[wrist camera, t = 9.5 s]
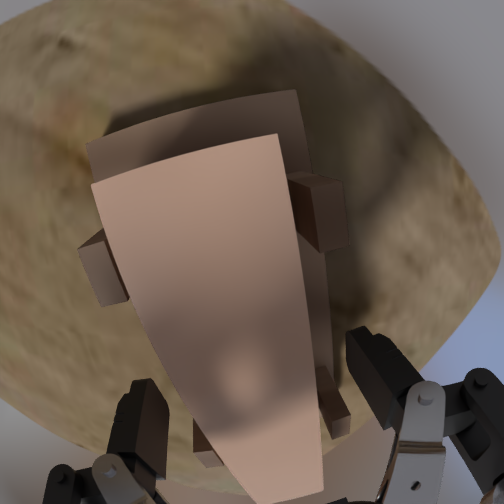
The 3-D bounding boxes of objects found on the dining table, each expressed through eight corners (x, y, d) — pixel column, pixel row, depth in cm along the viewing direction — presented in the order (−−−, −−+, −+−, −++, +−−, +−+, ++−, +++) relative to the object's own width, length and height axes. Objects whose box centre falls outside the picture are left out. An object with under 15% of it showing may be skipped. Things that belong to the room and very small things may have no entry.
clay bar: (246, 439, 15) (258, 506, 10) (147, 167, 9) (90, 184, 4) (301, 425, 15) (323, 490, 10) (245, 142, 9) (277, 133, 5)
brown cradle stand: (328, 398, 19) (353, 454, 14) (212, 427, 18) (216, 488, 13) (286, 95, 12) (334, 64, 6) (98, 144, 11) (34, 144, 6)
